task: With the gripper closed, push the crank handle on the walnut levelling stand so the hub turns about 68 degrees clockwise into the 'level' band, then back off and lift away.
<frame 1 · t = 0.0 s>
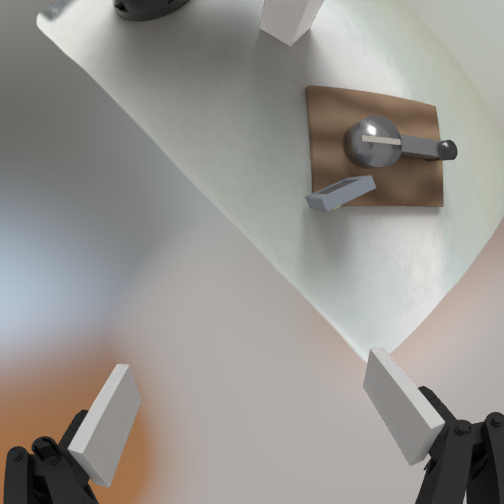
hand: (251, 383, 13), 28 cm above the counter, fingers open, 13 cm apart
stand board: (381, 148, 38), on the counter
crank handle: (404, 145, 33), point 5 cm above the counter, hinge at 0.0°
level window: (329, 192, 38), resting on stand board
milk: (285, 28, 33), on the counter
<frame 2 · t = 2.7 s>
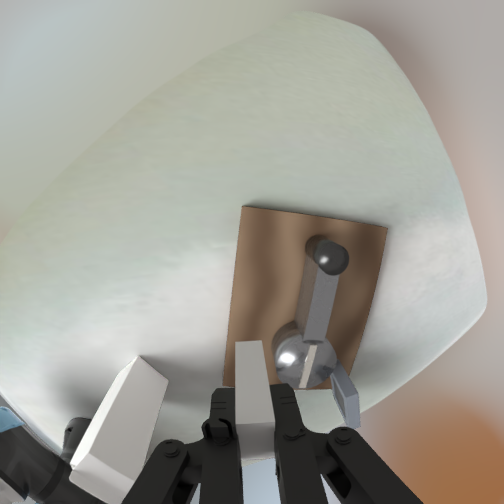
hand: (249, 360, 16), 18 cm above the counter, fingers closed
stand board: (301, 309, 35), on the counter
crank handle: (312, 317, 30), point 5 cm above the counter, hinge at 0.0°
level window: (335, 378, 36), resting on stand board
milk: (143, 376, 36), on the counter
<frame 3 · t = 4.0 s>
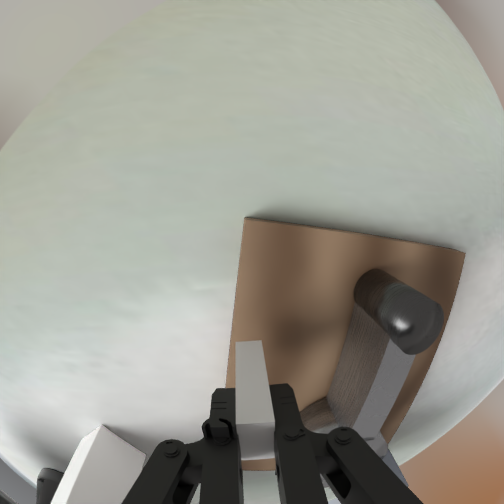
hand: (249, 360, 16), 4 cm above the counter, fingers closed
stand board: (335, 377, 21), on the counter
crank handle: (360, 402, 16), point 5 cm above the counter, hinge at 0.0°
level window: (370, 450, 22), resting on stand board
milk: (112, 446, 22), on the counter
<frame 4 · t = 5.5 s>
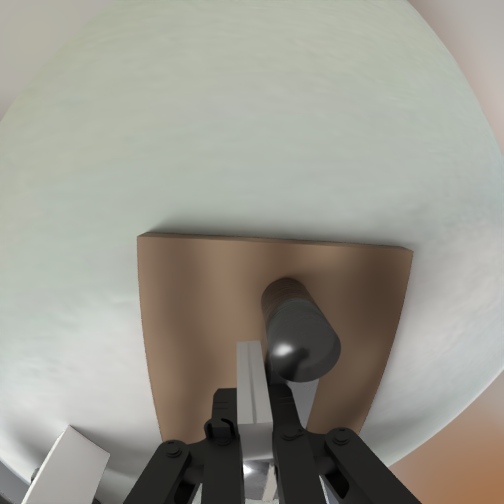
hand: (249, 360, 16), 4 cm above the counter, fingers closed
stand board: (268, 388, 20), on the counter
crank handle: (277, 420, 15), point 5 cm above the counter, hinge at 0.7°, touching gripper
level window: (328, 462, 21), resting on stand board
milk: (82, 445, 22), on the counter
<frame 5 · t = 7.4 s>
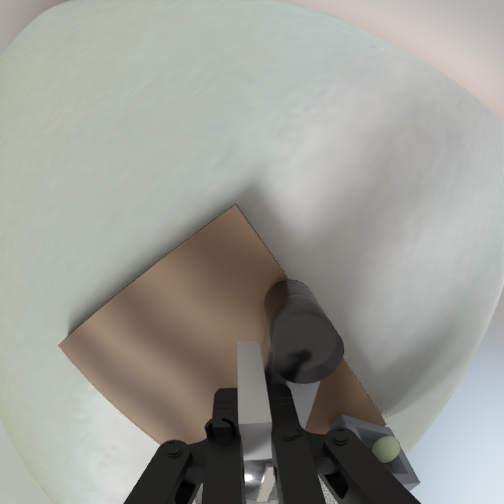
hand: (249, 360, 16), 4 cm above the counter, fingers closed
stand board: (233, 396, 20), on the counter
crank handle: (276, 421, 15), point 5 cm above the counter, hinge at 41.2°, touching gripper
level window: (362, 427, 20), resting on stand board
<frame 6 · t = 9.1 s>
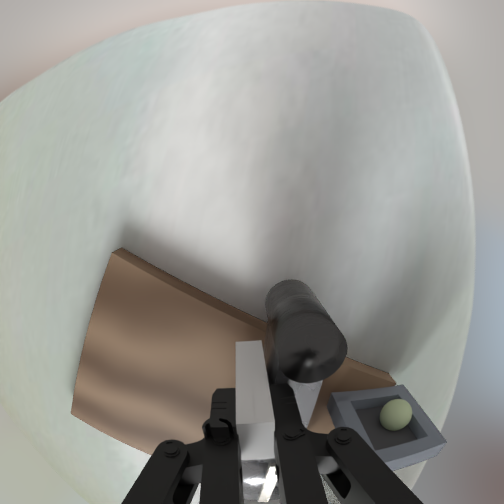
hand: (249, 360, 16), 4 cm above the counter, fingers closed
stand board: (220, 407, 21), on the counter
crank handle: (277, 421, 15), point 5 cm above the counter, hinge at 67.5°, touching gripper
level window: (367, 396, 19), resting on stand board
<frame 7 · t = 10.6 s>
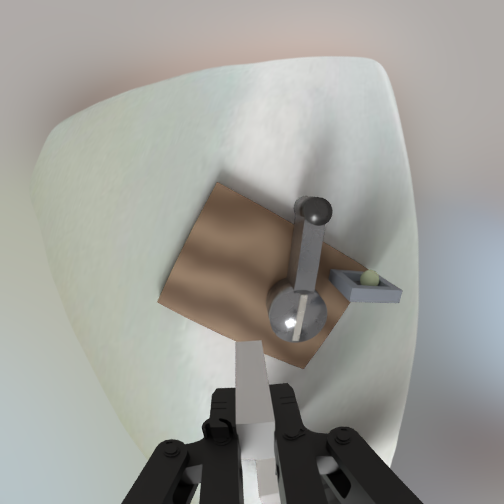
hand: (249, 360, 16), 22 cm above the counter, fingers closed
stand board: (264, 284, 38), on the counter
crank handle: (302, 270, 33), point 5 cm above the counter, hinge at 67.3°
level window: (352, 276, 37), resting on stand board
milk: (272, 413, 44), on the counter
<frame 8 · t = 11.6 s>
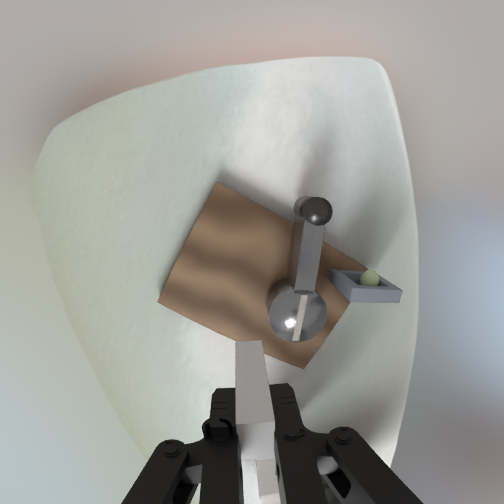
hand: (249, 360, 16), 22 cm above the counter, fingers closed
stand board: (264, 284, 38), on the counter
crank handle: (303, 270, 33), point 5 cm above the counter, hinge at 67.3°
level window: (352, 276, 37), resting on stand board
milk: (272, 413, 44), on the counter
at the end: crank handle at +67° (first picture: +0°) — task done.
